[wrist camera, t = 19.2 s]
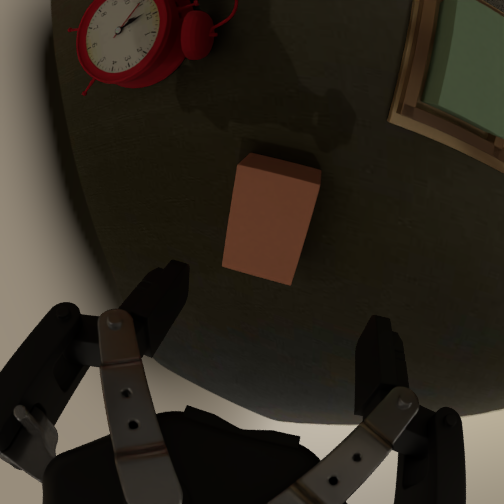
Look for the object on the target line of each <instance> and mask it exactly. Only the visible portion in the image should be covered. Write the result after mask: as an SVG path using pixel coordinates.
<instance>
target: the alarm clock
mask: <svg viewBox="0 0 504 504" xmlns="http://www.w3.org/2000/svg"><path fill="white" fill-rule="evenodd" d="M193 5H195V6H198V5H199V3H198V0H195V1H194V3H192V4H191V2H190V0H94V1H93V2H92V3H91V4H90V6H89V7H88V9H87V10H86V12H85V13H84V15H83V17H82V20H81V22H80V25H79V28H77V29H72V28H69V29H68V32H71V31H78V32H77V40H76V47H77V54H78V58H79V61H80V63H81V65H82V67H83V69H84V70H85V71H86V72H87V73H88V74H89V75H90V76H91V77H93V79H92V80H91V82H90V83H89V85H88V87H87V88H86V90H85V91H83V93H82V95H83V96H85V95H86V94H87V91H88V89H89V88H90V86H91V85H92V84H93V83H94V81H95V80H98V81H101V82H104V83H108V84H117V85H119V86H122V87H126V88H141V87H147V86H150V85H153V84H156V83H158V82H160V81H162V80H163V79H165V78H166V77H168V76H169V75H170V74H172V73H173V72H174V71H175V70H176V69H177V68H178V67H179V65H180V64H181V63H182V62H183V60H184V59H185V57H186V58H188V59H189V60H198V59H202V58H204V57H206V56H207V55H208V54H209V52H210V51H211V48H212V45H213V42H214V36H217V35H218V34H217V33H214V29H215V28H217V27H219V26H221V25H223V24H224V23H226V22H227V21H229V20H230V19H231V18H232V17H233V16H234V14H235V13H236V11H237V7H238V0H235V5H234V9H233V11H232V13H231V14H230V15H229V16H228V17H227V18H226V19H225V20H223V21H222V22H220V23H218V24H217V25H215V26H214V24H213V21H212V19H211V17H210V16H209V15H208V14H207V13H205V12H203V11H194V9H193Z"/></svg>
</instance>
